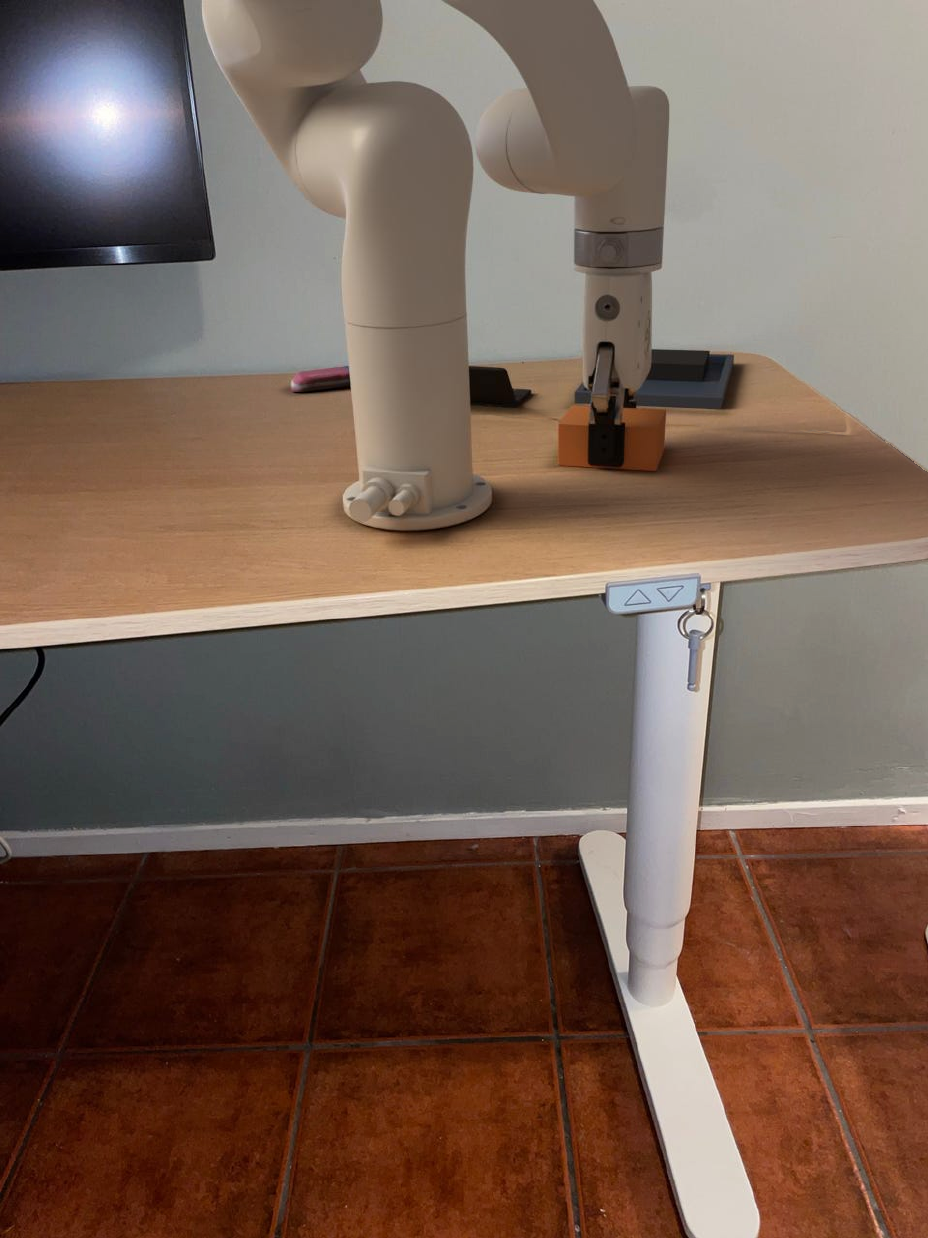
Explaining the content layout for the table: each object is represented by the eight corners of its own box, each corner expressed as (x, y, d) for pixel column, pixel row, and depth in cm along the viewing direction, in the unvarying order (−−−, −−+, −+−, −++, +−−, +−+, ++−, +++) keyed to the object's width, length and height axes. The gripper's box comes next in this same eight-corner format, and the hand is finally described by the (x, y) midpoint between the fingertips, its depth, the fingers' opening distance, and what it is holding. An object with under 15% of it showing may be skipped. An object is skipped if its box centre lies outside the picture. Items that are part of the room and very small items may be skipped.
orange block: (655, 471, 90) (658, 428, 88) (557, 465, 92) (558, 423, 90) (664, 450, 95) (666, 409, 93) (570, 445, 97) (571, 405, 96)
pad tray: (720, 413, 105) (722, 397, 104) (574, 407, 109) (574, 391, 108) (733, 368, 121) (734, 354, 121) (605, 364, 126) (605, 350, 125)
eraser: (292, 394, 119) (290, 380, 118) (289, 386, 122) (287, 371, 121) (386, 382, 121) (384, 368, 120) (380, 374, 124) (378, 360, 123)
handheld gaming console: (533, 377, 114) (513, 318, 106) (531, 429, 111) (510, 373, 103) (437, 390, 117) (410, 333, 109) (432, 441, 114) (404, 387, 106)
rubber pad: (703, 381, 114) (704, 364, 114) (616, 378, 117) (616, 361, 116) (708, 367, 120) (709, 350, 119) (625, 364, 123) (626, 348, 122)
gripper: (648, 266, 77) (638, 488, 85) (674, 236, 91) (663, 428, 100) (553, 265, 79) (552, 482, 87) (593, 237, 93) (589, 425, 102)
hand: (612, 451), depth 93 cm, fingers closed on orange block, 6 cm apart
